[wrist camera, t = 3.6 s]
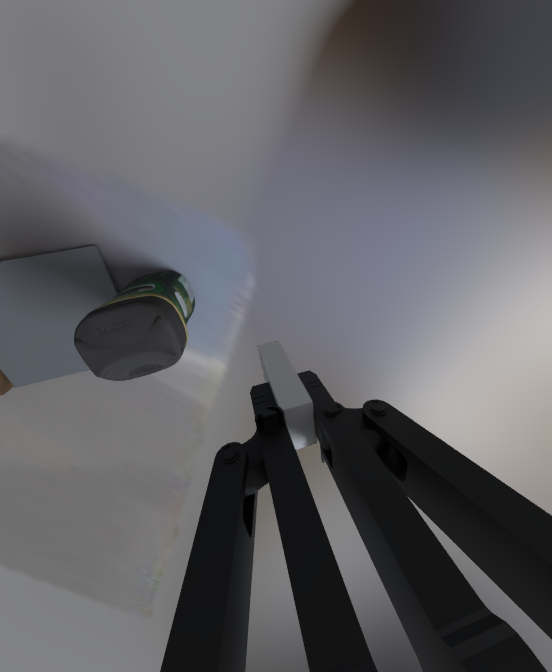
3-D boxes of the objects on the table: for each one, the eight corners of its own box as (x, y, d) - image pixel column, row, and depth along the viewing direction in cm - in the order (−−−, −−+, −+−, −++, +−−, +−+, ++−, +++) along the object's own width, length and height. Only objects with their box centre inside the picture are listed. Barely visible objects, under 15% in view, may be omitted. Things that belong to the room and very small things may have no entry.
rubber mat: (-70, 273, 30) (-77, 274, 30) (96, 245, 33) (94, 245, 33) (18, 384, 38) (15, 387, 38) (147, 354, 41) (145, 356, 41)
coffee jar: (145, 327, 39) (96, 400, 23) (120, 281, 36) (42, 328, 19) (202, 311, 41) (194, 369, 24) (184, 265, 37) (160, 295, 21)
